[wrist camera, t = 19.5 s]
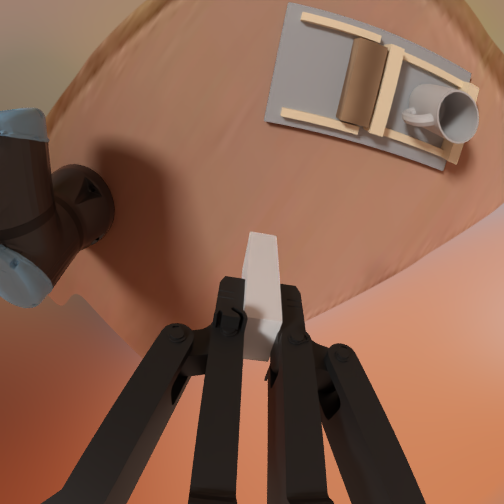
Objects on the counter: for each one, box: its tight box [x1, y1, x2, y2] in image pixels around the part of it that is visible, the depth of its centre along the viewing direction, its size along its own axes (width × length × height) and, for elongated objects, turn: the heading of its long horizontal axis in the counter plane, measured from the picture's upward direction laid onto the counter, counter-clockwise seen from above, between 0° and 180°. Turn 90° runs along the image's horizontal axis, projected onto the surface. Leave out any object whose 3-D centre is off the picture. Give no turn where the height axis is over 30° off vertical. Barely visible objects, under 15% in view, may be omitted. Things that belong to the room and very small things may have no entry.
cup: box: [402, 84, 479, 144], centre depth 33 cm, size 7×10×9 cm
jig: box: [264, 2, 479, 171], centre depth 35 cm, size 30×18×4 cm, turn 80°
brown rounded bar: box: [336, 38, 388, 128], centre depth 34 cm, size 4×12×3 cm, turn 170°
